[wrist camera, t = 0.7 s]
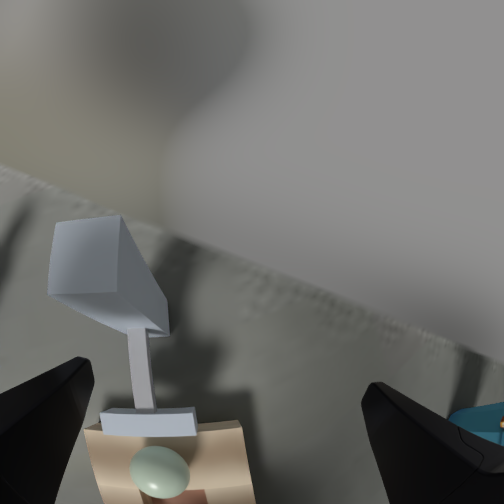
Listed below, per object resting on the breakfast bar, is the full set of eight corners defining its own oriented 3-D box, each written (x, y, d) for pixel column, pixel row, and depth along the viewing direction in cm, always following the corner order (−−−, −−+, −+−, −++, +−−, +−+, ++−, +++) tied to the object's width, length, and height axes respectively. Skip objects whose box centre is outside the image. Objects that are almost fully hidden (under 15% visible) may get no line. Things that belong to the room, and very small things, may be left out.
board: (257, 523, 15) (263, 539, 12) (127, 526, 13) (119, 540, 10) (237, 419, 19) (241, 427, 17) (97, 423, 17) (83, 429, 14)
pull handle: (199, 418, 19) (187, 489, 6) (127, 420, 17) (37, 469, 5) (185, 299, 22) (158, 211, 10) (117, 303, 21) (30, 226, 9)
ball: (196, 484, 14) (194, 508, 10) (143, 484, 13) (130, 505, 10) (186, 438, 16) (181, 455, 12) (132, 439, 15) (116, 453, 11)
